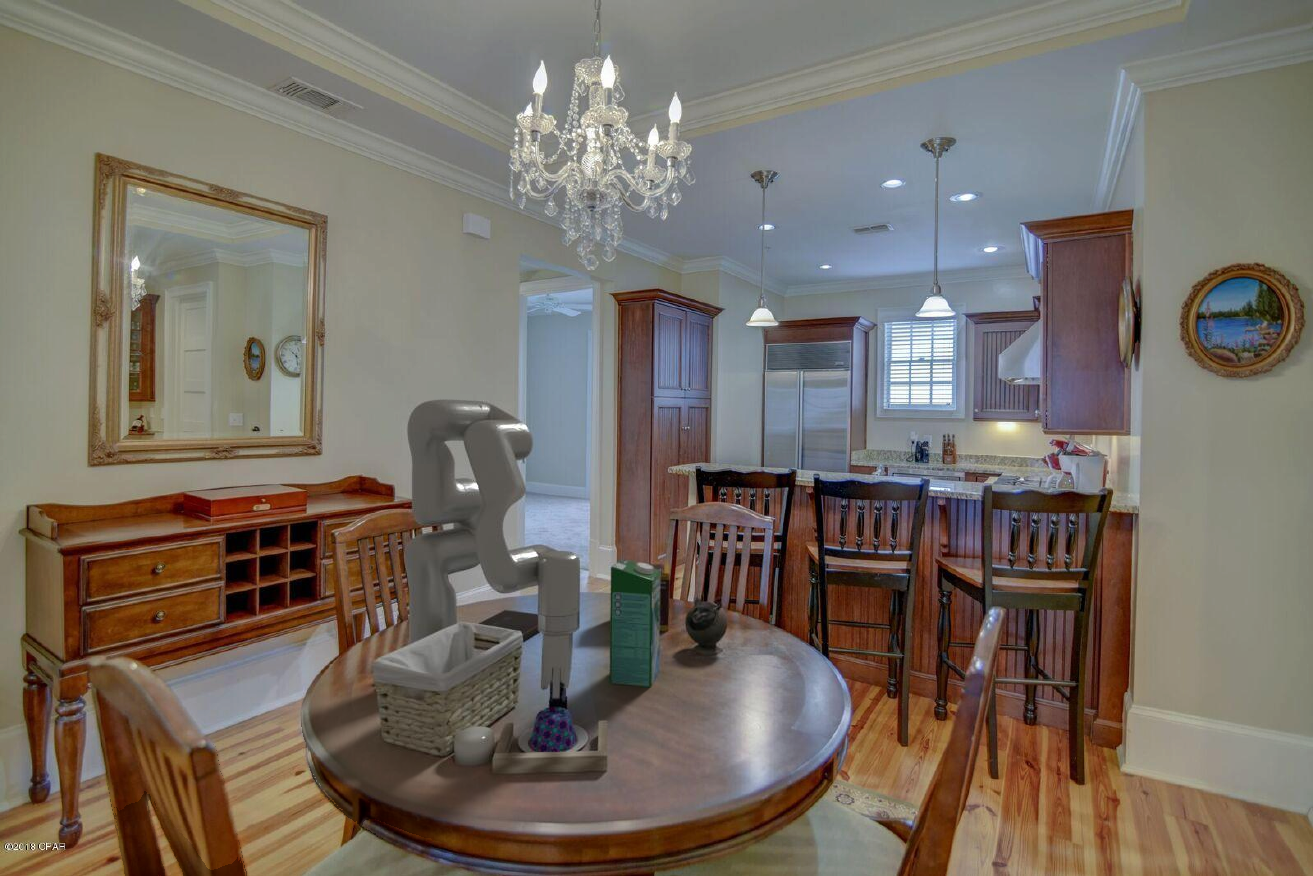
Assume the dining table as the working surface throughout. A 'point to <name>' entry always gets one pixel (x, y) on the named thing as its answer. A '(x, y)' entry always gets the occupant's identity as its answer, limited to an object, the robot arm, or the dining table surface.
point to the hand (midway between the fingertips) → (558, 719)
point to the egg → (474, 746)
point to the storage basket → (446, 685)
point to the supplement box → (664, 595)
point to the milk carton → (634, 623)
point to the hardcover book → (511, 625)
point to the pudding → (553, 732)
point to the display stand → (548, 757)
